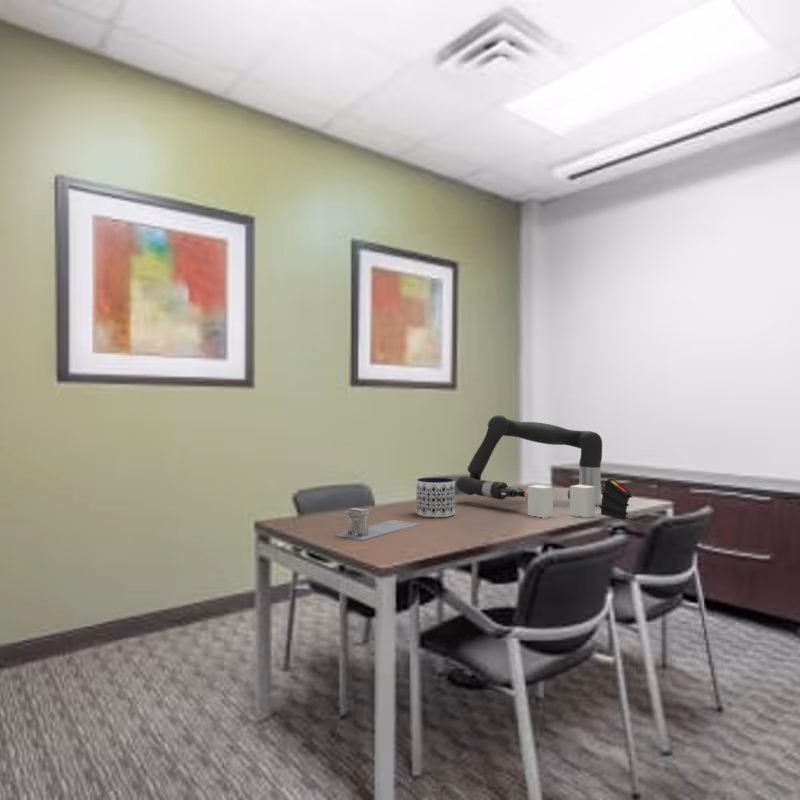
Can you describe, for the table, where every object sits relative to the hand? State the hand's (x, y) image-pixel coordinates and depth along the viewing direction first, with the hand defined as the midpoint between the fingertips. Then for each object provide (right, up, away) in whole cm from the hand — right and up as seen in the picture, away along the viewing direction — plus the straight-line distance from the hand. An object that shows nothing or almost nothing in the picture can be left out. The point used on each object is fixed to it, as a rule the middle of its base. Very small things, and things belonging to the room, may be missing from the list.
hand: (527, 494), depth 249 cm
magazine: (+35, -8, -6) cm, 36 cm away
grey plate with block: (-61, -8, -32) cm, 70 cm away
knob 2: (+21, -2, -2) cm, 21 cm away
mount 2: (+22, -8, -3) cm, 24 cm away
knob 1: (+3, -2, -3) cm, 5 cm away
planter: (-39, -8, -2) cm, 40 cm away
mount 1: (+4, -8, -5) cm, 10 cm away
